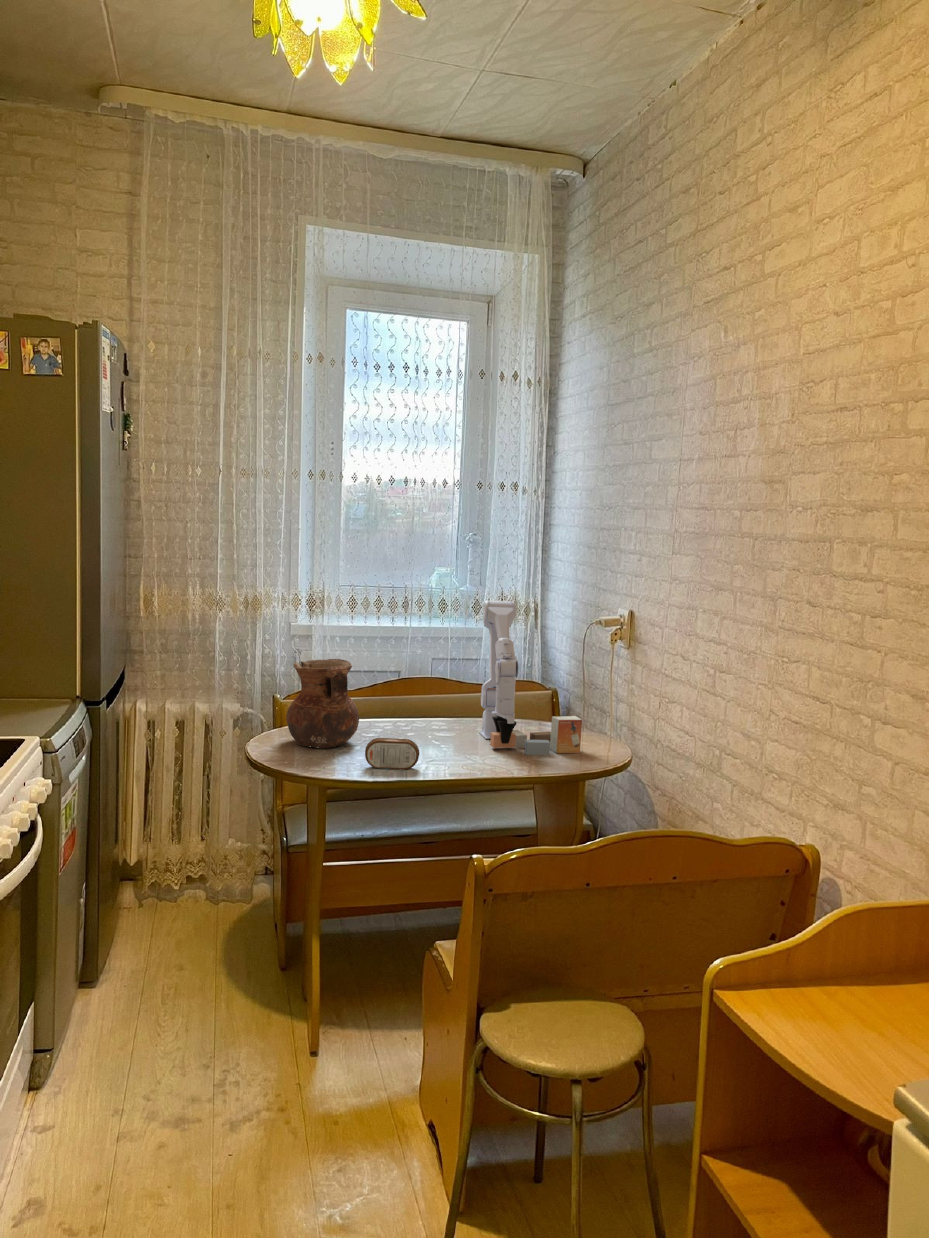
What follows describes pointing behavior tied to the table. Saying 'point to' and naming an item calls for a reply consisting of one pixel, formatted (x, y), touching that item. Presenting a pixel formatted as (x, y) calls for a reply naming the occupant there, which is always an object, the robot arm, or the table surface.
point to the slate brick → (537, 747)
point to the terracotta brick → (498, 744)
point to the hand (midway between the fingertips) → (503, 741)
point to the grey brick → (520, 738)
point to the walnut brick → (540, 736)
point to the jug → (323, 705)
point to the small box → (566, 734)
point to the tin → (392, 753)
